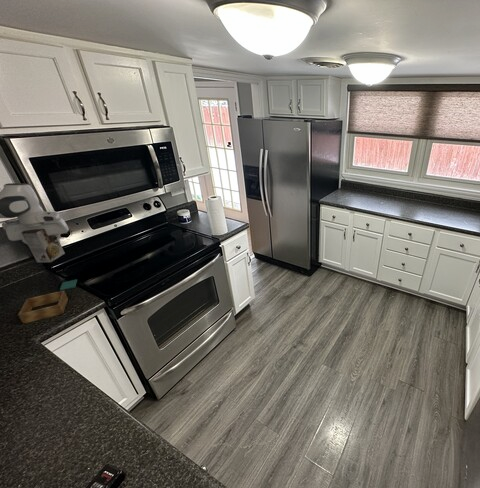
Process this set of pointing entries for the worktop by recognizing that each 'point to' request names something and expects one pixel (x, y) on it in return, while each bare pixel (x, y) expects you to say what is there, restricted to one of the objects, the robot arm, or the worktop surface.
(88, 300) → the worktop surface
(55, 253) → the coffee box
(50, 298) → the holder
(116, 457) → the worktop surface
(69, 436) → the worktop surface
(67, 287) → the mat
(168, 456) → the worktop surface
